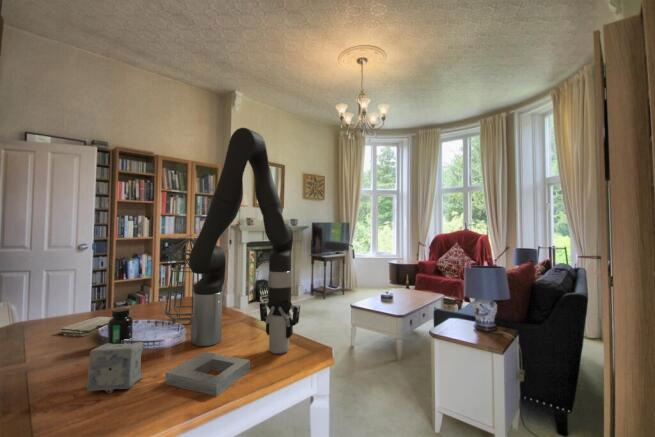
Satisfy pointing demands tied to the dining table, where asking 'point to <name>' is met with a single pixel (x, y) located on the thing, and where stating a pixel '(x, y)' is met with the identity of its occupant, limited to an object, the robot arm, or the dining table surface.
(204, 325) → the robot arm
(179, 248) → the geometric lantern
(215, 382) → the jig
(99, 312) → the dining table surface
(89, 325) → the washcloth
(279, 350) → the beverage can
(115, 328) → the supplement bottle
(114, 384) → the incense holder
